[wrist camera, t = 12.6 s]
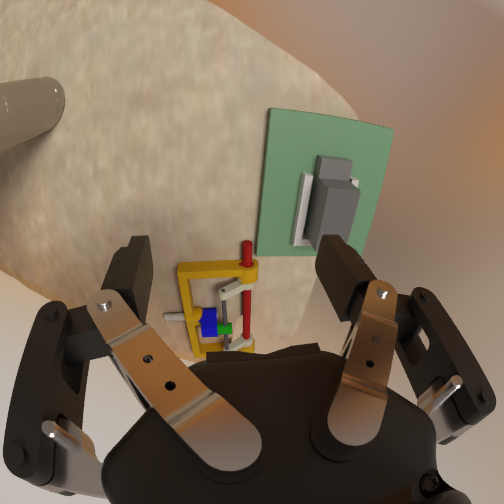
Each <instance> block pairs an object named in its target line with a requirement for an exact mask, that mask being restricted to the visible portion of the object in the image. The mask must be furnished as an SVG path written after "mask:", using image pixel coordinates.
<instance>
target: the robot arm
mask: <svg viewBox="0 0 504 504" xmlns="http://www.w3.org/2000/svg"><path fill="white" fill-rule="evenodd" d="M64 102H65V98H64V92H63V89H62V87H61V85H60V84H59V83H58V82H57V81H56V80H55V79H53V78H50V77H43V78H32V79H24V80H17V81H11V82H5V83H0V154H2V153H4V152H5V151H7V150H9V149H11V148H13V147H15V146H17V145H19V144H21V143H23V142H25V141H27V140H29V139H31V138H34V137H36V136H38V135H40V134H42V133H45V132H47V131H49V130H51V129H52V128H53V127H54V126H55V125H56V124H57V123H58V121H59V119H60V118H61V115H62V113H63V109H64ZM315 270H316V273H317V275H318V277H319V279H320V281H321V283H322V285H323V287H324V289H325V291H326V293H327V295H328V297H329V299H330V301H331V303H332V305H333V307H334V309H335V311H336V313H337V315H338V318H339V320H340V321H341V322H344V321H351V326H350V327H349V330H348V333H347V336H346V339H345V341H344V344H343V347H342V349H341V352H340V355H337V354H334V353H330V352H326V351H320V348H319V346H318V343H311V344H303V345H295V346H290V347H287V348H285V349H281V350H278V351H275V352H272V353H269V354H256V353H248V352H241V351H215V352H206V360H205V361H201V362H198V363H196V364H193V365H192V366H190V367H187V366H186V365H185V364H184V363H183V362H182V361H181V360H180V359H179V358H178V357H177V356H176V355H175V353H174V352H173V351H172V350H171V349H170V348H169V347H168V346H167V345H166V343H165V342H164V341H163V340H162V339H161V338H160V337H159V335H158V334H157V333H156V332H155V331H154V330H153V328H152V327H151V326H150V325H149V324H147V323H145V321H146V314H147V308H148V302H149V296H150V290H151V284H152V279H153V262H152V255H151V248H150V240H149V236H148V235H146V236H132V237H131V239H130V242H129V245H128V247H121V248H120V249H119V250H118V251H117V252H116V253H115V254H114V256H113V258H112V261H111V263H110V266H109V269H108V271H107V274H106V276H105V279H104V282H103V284H102V287H101V290H100V291H98V292H96V293H94V294H93V295H91V296H90V298H89V299H88V301H87V305H85V306H81V307H77V308H73V309H69V310H68V309H67V307H66V305H65V304H64V303H63V302H61V301H51V302H49V303H47V304H45V305H44V306H42V307H41V308H40V310H39V311H38V313H37V315H36V318H35V321H34V323H33V326H32V329H31V332H30V334H29V337H28V340H27V343H26V346H25V349H24V353H23V355H22V359H21V362H20V366H19V369H18V373H17V376H16V380H15V384H14V388H13V392H12V397H11V401H10V406H9V411H8V417H7V423H6V430H5V436H4V445H3V458H4V462H5V464H6V466H7V468H8V469H9V471H11V473H12V474H14V475H15V476H17V477H19V478H21V479H23V480H26V481H28V482H29V483H31V484H33V485H35V486H37V487H40V488H43V489H45V490H48V491H50V492H54V493H59V494H62V495H66V496H72V495H75V494H76V493H77V494H82V495H87V496H93V497H99V498H106V499H108V500H109V501H110V503H111V504H471V501H470V500H469V498H468V497H467V496H466V495H465V494H464V493H462V492H460V491H458V490H456V489H454V488H452V487H451V486H449V485H448V484H447V483H446V482H444V480H442V478H441V476H440V475H439V473H438V470H437V465H436V444H437V443H438V444H442V445H446V444H448V443H450V442H451V441H453V440H454V439H456V438H457V437H459V436H460V435H462V434H463V433H465V432H466V431H468V430H469V429H470V428H472V427H473V426H474V425H476V424H477V423H478V422H480V421H481V420H482V419H484V418H485V417H486V416H487V415H489V414H490V413H491V412H492V411H493V410H494V409H495V406H496V397H495V394H494V392H493V389H492V388H491V386H490V384H489V382H488V380H487V378H486V376H485V374H484V373H483V371H482V369H481V367H480V365H479V363H478V362H477V360H476V358H475V356H474V355H473V353H472V351H471V350H470V348H469V346H468V345H467V343H466V341H465V340H464V338H463V337H462V335H461V333H460V332H459V330H458V329H457V327H456V326H455V324H454V323H453V321H452V319H451V318H450V316H449V315H448V313H447V312H446V311H445V309H444V308H443V306H442V305H441V303H440V302H439V300H438V299H437V298H436V296H435V295H434V294H433V293H432V292H431V291H429V290H428V289H425V288H422V287H416V288H414V290H413V291H412V293H411V295H410V296H409V295H403V294H397V291H396V289H395V288H394V287H393V286H392V285H391V284H389V283H388V282H385V281H382V280H377V278H376V277H375V276H374V274H373V273H372V271H371V270H370V269H369V267H368V266H367V264H365V262H364V260H363V259H362V258H361V256H360V255H359V254H358V252H357V251H356V250H355V249H354V248H352V247H351V246H350V245H348V244H346V243H345V242H344V241H343V239H342V238H341V237H340V235H338V234H324V235H323V236H322V238H321V241H320V245H319V249H318V253H317V257H316V261H315ZM422 329H423V330H424V332H425V333H426V335H427V337H428V339H429V342H430V343H429V348H428V350H426V348H425V346H424V344H423V343H422V341H421V339H420V337H419V333H420V332H421V330H422ZM394 349H395V351H396V353H397V355H398V357H399V359H400V361H401V363H402V366H403V368H404V370H405V372H406V374H407V377H408V379H409V381H410V383H411V386H412V388H413V390H414V392H415V395H416V397H417V399H418V401H417V406H416V405H415V404H413V403H412V402H410V401H408V400H407V399H405V398H404V397H402V396H401V395H399V394H398V393H396V392H394V391H393V390H391V389H390V388H388V387H387V384H388V380H389V375H390V370H391V365H392V360H393V355H394ZM105 356H109V358H110V359H111V361H112V362H113V364H114V365H115V367H116V369H117V370H118V372H119V373H120V375H121V376H122V378H123V379H124V381H125V382H126V383H127V385H128V386H129V388H130V389H131V390H132V392H133V393H134V395H135V397H136V399H137V400H138V401H139V403H140V404H141V406H142V407H143V408H144V409H145V411H146V412H145V413H144V414H143V415H142V416H141V417H140V419H139V420H138V421H137V422H136V423H135V424H134V425H133V426H132V427H131V429H130V430H129V431H128V432H127V433H126V434H125V435H124V436H123V438H122V439H121V440H120V441H119V442H118V443H117V444H116V445H115V446H114V447H113V449H112V450H111V451H110V452H109V453H108V455H107V456H106V458H105V460H104V462H103V463H100V462H99V460H98V459H97V457H96V454H95V448H94V444H93V442H92V440H91V439H90V437H89V436H88V435H87V434H85V433H84V432H83V431H82V423H83V410H84V400H85V391H86V384H87V376H88V369H89V363H90V360H92V359H96V358H101V357H105Z"/></svg>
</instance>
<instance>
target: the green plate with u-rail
mask: <svg viewBox="0 0 504 504" xmlns="http://www.w3.org/2000/svg"><path fill="white" fill-rule="evenodd" d="M393 133H394V130H393V129H391V128H387V127H384V126H380V125H375V124H371V123H367V122H362V121H357V120H352V119H347V118H342V117H336V116H330V115H324V114H318V113H311V112H304V111H296V110H287V109H277V108H269V117H268V128H267V138H266V148H265V159H264V169H263V179H262V189H261V199H260V210H259V220H258V230H257V240H256V250H255V252H256V256H317V253H318V252H315V251H314V249H313V247H312V245H311V243H310V241H309V240H308V238H307V236H306V234H305V232H304V229H305V223H306V218H307V213H308V207H309V202H310V196H311V191H312V185H313V179H314V173H315V167H316V161H317V155H326V156H334V157H342V158H348V159H349V160H351V161H352V162H353V166H352V171H351V176H350V180H349V181H350V182H351V183H352V184H354V185H355V186H356V187H357V188H358V189H359V190H360V191H361V194H360V198H359V202H358V206H357V210H356V213H355V217H354V221H353V225H352V228H351V232H350V235H349V239H348V242H347V244H348V245H350V246H351V247H352V248H354V249H355V250H356V251H357V252H358V254H359V255H362V252H363V249H364V246H365V243H366V240H367V236H368V233H369V230H370V227H371V223H372V219H373V216H374V212H375V209H376V205H377V202H378V198H379V194H380V191H381V187H382V183H383V179H384V175H385V170H386V166H387V162H388V157H389V153H390V148H391V143H392V138H393Z"/></svg>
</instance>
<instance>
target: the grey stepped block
mask: <svg viewBox="0 0 504 504" xmlns="http://www.w3.org/2000/svg"><path fill="white" fill-rule="evenodd" d="M352 166H353V162H352V161H351V160H349V159H348V158H342V157H334V156H326V155H317V161H316V167H315V173H314V179H313V185H312V191H311V196H310V202H309V207H308V213H307V218H306V223H305V229H304V232H305V234H306V236H307V238H308V240H309V241H310V243H311V245H312V247H313V249H314V251H315V252H318V249H319V245H320V241H321V238H322V236H323V235H324V234H338V235H340V237H341V238H342V239H343V241H344V242H345V243H346V244H347V242H348V239H349V235H350V232H351V228H352V225H353V221H354V217H355V213H356V210H357V206H358V202H359V198H360V194H361V191H360V190H359V189H358V188H357V187H356V186H355V185H354V184H352V183H351V182H350V181H349V180H350V176H351V171H352Z"/></svg>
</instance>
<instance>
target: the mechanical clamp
mask: <svg viewBox="0 0 504 504" xmlns="http://www.w3.org/2000/svg"><path fill="white" fill-rule="evenodd" d="M177 275H178V281H179V286H180V292H181V297H182V302H183V308H184V313H165V314H164V320H165V321H182V320H186V324H187V327H188V332H189V336H190V341H191V345H192V350H193V354H194V358H200V357H206V352H215V351H241V352H248V353H254V348H255V347H254V346H255V341H254V339H253V338H252V334H250V314H251V289H253V288H254V286H255V282H256V281H257V279H258V261H257V260H255V259H252V242H251V241H244V242H243V259H242V260H222V261H202V262H181V263H178V270H177ZM223 277H237V281H235V282H233V283H231V284H229V285H227V286H225V287H223V288H221V289H220V290H219V298H220V300H222V313H223V323H217V319H218V313H217V309H216V308H203V309H201V307H194V306H193V300H192V293H191V287H190V280H189V279H203V278H223ZM242 291H243V333H242V334H241V336H240V338H238V339H237V340H235V341H234V342H228V334H232V323H231V322H230V323H227V311H226V300H227V299H229V298H230V297H232V296H234V295H236V294H238V293H240V292H242ZM200 325H201V331H202V337H218V335H222V334H224V340H225V343H208V344H200V340H199V335H198V329H197V326H200Z"/></svg>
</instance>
